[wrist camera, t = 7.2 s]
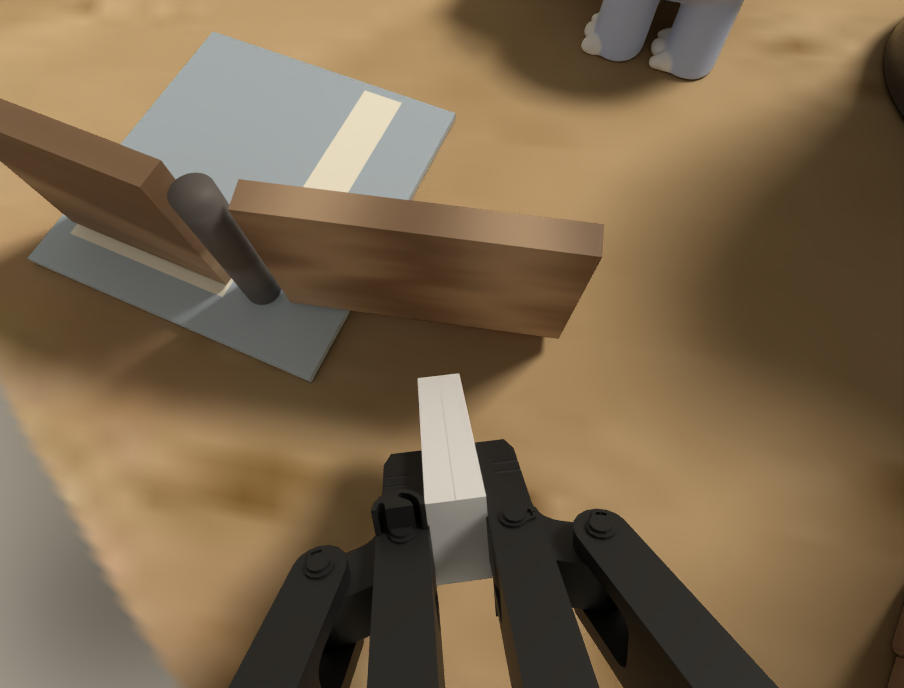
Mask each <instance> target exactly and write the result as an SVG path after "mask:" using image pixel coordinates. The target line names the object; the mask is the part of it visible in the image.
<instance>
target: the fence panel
mask: <svg viewBox="0 0 904 688" xmlns="http://www.w3.org/2000/svg"><path fill="white" fill-rule="evenodd" d="M228 210H229V212H230V213H231V215H232V216H233V218H234V219H235V221H236V222H237V224H238V225H239V227H240V228H241V230H242V231H243V233H244V234H245V236H246V237H247V239H248V240H249V242H250V243H251V245H252V246H253V247H254V249H255V250H256V252H257V253H258V255H259V256H260V258H261V259H262V261H263V262H264V264H265V265H266V267H267V268H268V270H269V271H270V273H271V274H272V276H273V277H274V279H275V280H276V282H277V283H278V285H279V286H280V288H281V289H282V290H283V292H284V293H285V295H286V296H287V298H288V299H289V301H290V302H291V303H299V304H306V305H314V306H321V307H328V308H336V309H343V310H351V311H358V312H365V313H373V314H380V315H387V316H395V317H402V318H410V319H417V320H424V321H432V322H439V323H447V324H454V325H461V326H469V327H476V328H483V329H491V330H498V331H506V332H513V333H520V334H528V335H535V336H543V337H550V338H557V339H559V337H560V335H561V333H562V331H563V329H564V327H565V325H566V324H567V322H568V320H569V318H570V316H571V314H572V312H573V311H574V309H575V307H576V305H577V303H578V301H579V299H580V297H581V296H582V294H583V292H584V290H585V288H586V286H587V284H588V282H589V281H590V279H591V277H592V275H593V273H594V271H595V269H596V268H597V266H598V264H599V262H600V260H601V258H602V249H603V229H604V224H596V223H588V222H580V221H572V220H564V219H556V218H548V217H540V216H532V215H524V214H516V213H508V212H500V211H492V210H484V209H476V208H468V207H460V206H452V205H443V204H435V203H427V202H419V201H411V200H403V199H395V198H387V197H379V196H371V195H363V194H355V193H347V192H339V191H331V190H323V189H315V188H307V187H299V186H291V185H282V184H274V183H266V182H258V181H250V180H242V179H238V182H237V185H236V188H235V191H234V193H233V196H232V199H231V202H230V205H229V208H228Z"/></svg>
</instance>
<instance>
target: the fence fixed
mask: <svg viewBox="0 0 904 688" xmlns="http://www.w3.org/2000/svg"><path fill="white" fill-rule="evenodd" d="M0 161H1V162H2V163H3V164H5V165H6V166H7V167H8V168H9V169H11V170H12V171H13V172H14V173H15V174H16V175H18V176H19V177H20V178H21V179H22V180H24V181H25V182H26V183H27V184H28V185H30V186H31V187H32V188H33V189H34V190H35V191H37V192H38V193H39V194H40V195H41V196H43V197H44V198H45V199H46V200H47V201H49V202H50V203H51V204H52V205H53V206H54V207H56V208H57V209H58V210H59V211H60V212H62V213H63V214H64V215H65V216H66V217H68V218H69V219H70V220H71V221H72V222H74V223H77V224H79V225H82V226H84V227H87V228H89V229H91V230H94V231H96V232H99V233H101V234H103V235H106V236H108V237H111V238H113V239H116V240H118V241H120V242H123V243H125V244H128V245H130V246H132V247H135V248H137V249H140V250H142V251H145V252H147V253H149V254H152V255H154V256H157V257H159V258H161V259H164V260H166V261H169V262H171V263H174V264H176V265H178V266H181V267H183V268H186V269H188V270H190V271H193V272H195V273H198V274H200V275H203V276H205V277H207V278H210V279H212V280H215V281H217V282H219V283H222V284H224V285H227V283H228V281H229V280H230V278H232V280H233V281H234V282H235V283H236V284H237V286H238V287H239V288H240V289H241V290H242V292H243V293H244V294H245V295H246V296H247V298H248V299H249V300H250V301H251V302H253V303H254V304H258V305H266V304H269V303H271V302H273V301H274V300H276V299H277V297H278V296H279V294H280V292H281V288H280V286H279V285H278V283H277V282H276V280H275V279H274V277H273V276H272V274H271V273H270V271H269V270H268V268H267V267H266V265H265V264H264V262H263V261H262V259H261V258H260V256H259V255H258V253H257V252H256V250H255V249H254V247H253V246H252V245H251V243H250V242H249V240H248V239H247V237H246V236H245V234H244V233H243V231H242V230H241V228H240V227H239V225H238V224H237V222H236V221H235V219H234V218H233V216H232V215H231V213H230V212H229V210H228V208H229V203H228V202H227V200H226V199H225V197H224V196H223V194H222V193H221V191H220V190H219V188H218V187H217V185H216V184H215V182H214V180H213V179H212V178H211V177H209V176H208V175H206V174H203V173H197V172H196V173H188V174H185V175H183V176H181V177H179V178H177V179H175V178H174V177H173V175H172V174H171V173H170V171H169V170H168V169H167V167H166V166H165V165H164V164H163V162H162V161H161V160H159V159H157V158H154V157H152V156H149V155H146V154H144V153H141V152H139V151H136V150H133V149H131V148H128V147H125V146H123V145H120V144H118V143H115V142H112V141H110V140H107V139H105V138H102V137H99V136H97V135H94V134H92V133H89V132H86V131H84V130H81V129H78V128H76V127H73V126H71V125H68V124H65V123H63V122H60V121H58V120H55V119H52V118H50V117H47V116H45V115H42V114H39V113H37V112H34V111H31V110H29V109H26V108H24V107H21V106H18V105H16V104H13V103H11V102H8V101H5V100H3V99H0Z"/></svg>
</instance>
